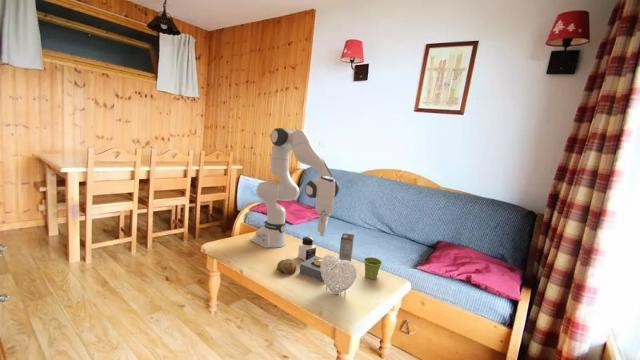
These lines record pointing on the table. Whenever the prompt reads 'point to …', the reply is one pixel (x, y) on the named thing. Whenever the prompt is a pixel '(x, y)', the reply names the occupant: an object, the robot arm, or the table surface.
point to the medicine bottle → (306, 249)
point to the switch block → (312, 269)
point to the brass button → (317, 261)
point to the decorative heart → (337, 274)
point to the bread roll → (286, 267)
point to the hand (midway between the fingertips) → (322, 235)
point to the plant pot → (372, 267)
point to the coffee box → (346, 247)
